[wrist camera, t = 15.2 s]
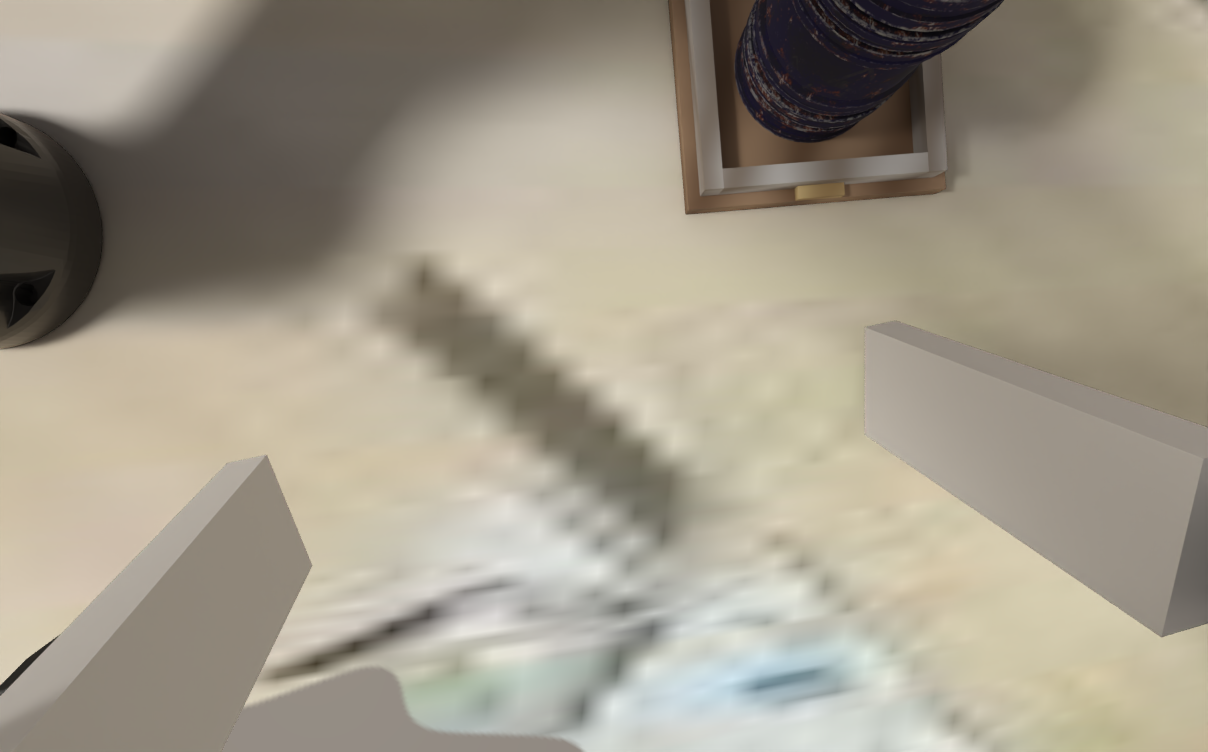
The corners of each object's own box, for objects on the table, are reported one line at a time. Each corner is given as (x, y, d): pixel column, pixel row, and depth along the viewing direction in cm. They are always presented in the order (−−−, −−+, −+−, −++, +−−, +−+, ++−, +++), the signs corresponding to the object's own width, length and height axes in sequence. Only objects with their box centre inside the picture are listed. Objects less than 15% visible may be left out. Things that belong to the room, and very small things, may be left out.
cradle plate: (685, 214, 38) (693, 203, 35) (664, -48, 37) (670, -79, 34) (934, 193, 38) (960, 181, 36) (918, -65, 38) (944, -98, 35)
